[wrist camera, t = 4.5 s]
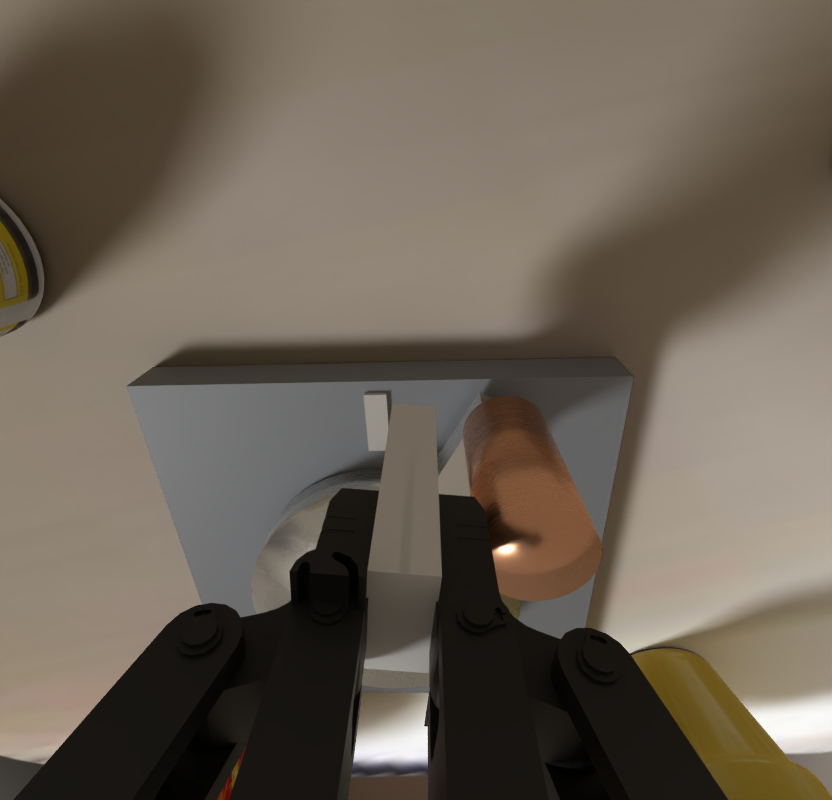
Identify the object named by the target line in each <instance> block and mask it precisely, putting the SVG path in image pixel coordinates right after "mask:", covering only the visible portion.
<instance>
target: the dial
mask: <svg viewBox="0 0 832 800" xmlns="http://www.w3.org/2000/svg"><path fill="white" fill-rule="evenodd" d="M437 463H438V489H439V494H445V495H459V496H472V497H475V498H476V499H477V501H478V502H479V503H480V505H481V506H482V507H483V509H484V510H485V513H486V519H487V525H488V530H489V536H490V543H491V548H492V553H493V559H494V565H495V571H496V576H497V582H498V588H499V593H500V596H501V599H502V602H503V603H504V604H505V605H506V606H507V607H508V609H509V611H510V613H511V614H512V615H513V616H514V617H515V618H516V619H517V620H518V619H519V615H520V609H521V600H524V601H545V600H552V599H556V598H559V597H562V596H565V595H568V594H570V593H572V592H574V591H576V590H577V589H579V588H581V587H582V586H583V585H585V584H586V583H587V582H588V581H589V580H590V579H591V578H592V577H593V576H594V574H595V573H596V571H597V570H598V568H599V565H600V563H601V559H602V544H601V540H600V538H599V536H598V534H597V531H596V529H595V527H594V525H593V523H592V521H591V518H590V516H589V514H588V512H587V510H586V507H585V505H584V503H583V501H582V499H581V497H580V494H579V492H578V490H577V488H576V486H575V484H574V481H573V479H572V477H571V475H570V473H569V470H568V468H567V466H566V464H565V462H564V460H563V457H562V455H561V453H560V451H559V449H558V447H557V444H556V442H555V440H554V438H553V436H552V433H551V431H550V429H549V427H548V425H547V423H546V420H545V418H544V416H543V414H542V413H541V411H540V410H539V409H538V408H537V407H536V406H535V405H534V404H533V403H531V402H530V401H528V400H526V399H523V398H520V397H516V396H499V397H494V398H492V397H490V396H488V395H486V394H484V393H482V392H480V391H479V392H478V394H477V395H476V397H475V398H474V400H473V401H472V403H471V405H470V406H469V408H468V409H467V411H466V412H465V414H464V415H463V417H462V419H461V420H460V422H459V423H458V425H457V426H456V428H455V430H454V431H453V433H452V434H451V436H450V437H449V439H448V441H447V442H446V444H445V445H444V447H443V448H442V450H441V452H440V453H439V455H438V456H437ZM381 476H382V469H368V470H358V471H353V472H348V473H343V474H340V475H337V476H334V477H331V478H328V479H325V480H323V481H321V482H319V483H317V484H314V485H312V486H311V487H309V488H308V489H306V490H304V491H303V492H301V493H300V494H298V495H297V496H296V497H295V498H294V499H293V500H291V501H290V502H289V503H288V504H287V505H286V506H285V508H284V509H283V510H282V511H281V512H280V514H279V515H278V517H277V518H276V520H275V522H274V523H273V525H272V527H271V530H270V532H269V534H268V536H267V539H266V541H265V543H264V545H263V548H262V550H261V552H260V554H259V557H258V559H257V562H256V564H255V567H254V570H253V575H252V581H251V595H252V600H253V605H254V609H255V611H256V614H259V613H264V612H268V611H271V610H274V609H277V608H279V607H281V606H283V605H285V604H287V603H288V602H289V601H291V590H290V574H289V571H290V569H291V568H292V566H293V565H294V563H295V561H296V560H297V559H299V558H300V557H301V556H302V555H304V554H305V553H306V552H308V551H311V550H314V549H316V546H317V542H318V539H319V536H320V532H321V530H322V525H323V522H324V519H325V515H326V512H327V509H328V505H329V502H330V500H331V499H332V498H333V497H334V496H335V495H336V494H337V493H338V492H339V491H340V489H341V488H350V489H363V490H376V491H379V489H380V482H381ZM362 685H363V686H370V687H379V688H411V687H419V686H426V685H429V672H428V673H418V672H403V671H391V670H379V669H364V670H363V678H362Z"/></svg>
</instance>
